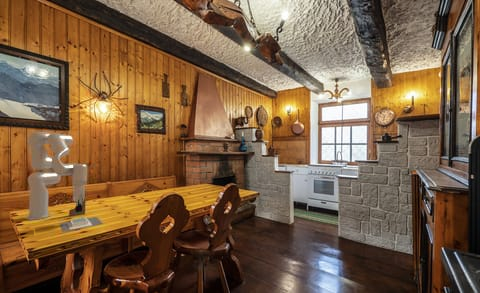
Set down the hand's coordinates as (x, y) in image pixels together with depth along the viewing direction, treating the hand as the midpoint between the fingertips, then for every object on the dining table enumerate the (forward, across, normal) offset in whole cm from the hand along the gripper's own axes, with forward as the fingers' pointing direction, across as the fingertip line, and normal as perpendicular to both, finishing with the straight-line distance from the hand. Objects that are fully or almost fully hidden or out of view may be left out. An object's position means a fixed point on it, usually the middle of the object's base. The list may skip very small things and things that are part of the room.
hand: (78, 211), depth 136 cm
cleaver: (+8, -21, +2) cm, 22 cm away
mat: (+8, +4, +1) cm, 9 cm away
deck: (+6, -2, 0) cm, 6 cm away
